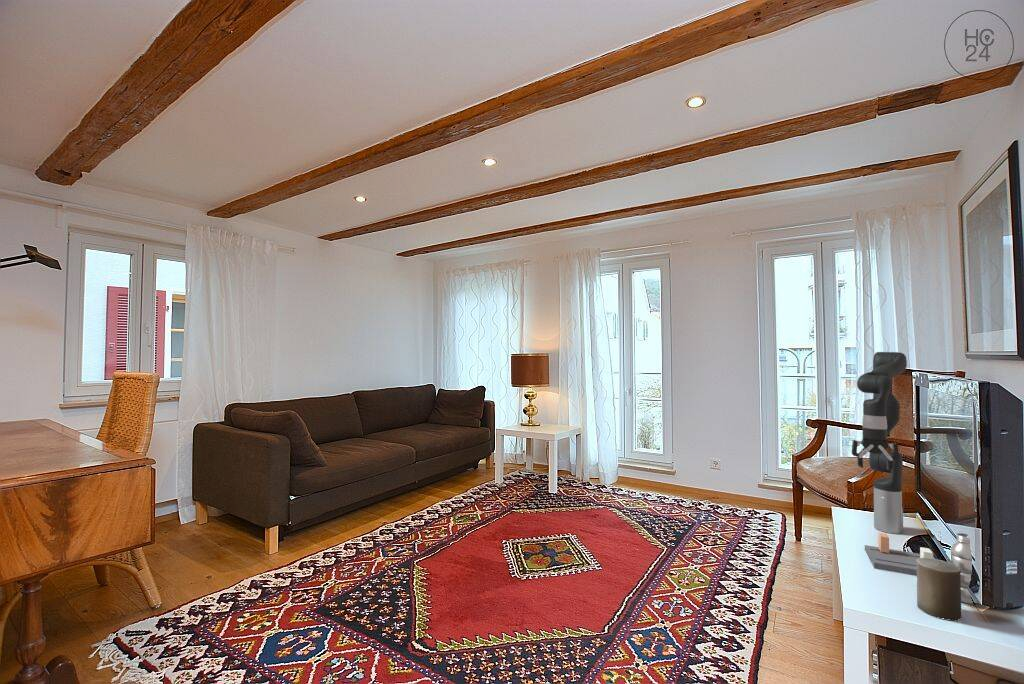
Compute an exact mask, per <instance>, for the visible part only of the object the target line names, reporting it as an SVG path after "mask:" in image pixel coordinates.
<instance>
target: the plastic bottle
mask: <svg viewBox="0 0 1024 684" xmlns="http://www.w3.org/2000/svg"><path fill="white" fill-rule="evenodd" d="M968 535H969V534H967V533H963V532H959V533H956V539H955V540H956V542H955V543H954V544H953V545H951V546H950V556H951V562H952V564H953V565H956V566H957V567H959V568H960V570H961V603H966V604H969V605H970V604H971V605H974V604H973V601H972V599H971V597H970V594H969V591H968V588H969V585H970V581H971V575H972V556H971V549H970V538H967V537H968Z"/></svg>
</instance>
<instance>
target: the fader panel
mask: <svg viewBox="0 0 1024 684" xmlns="http://www.w3.org/2000/svg"><path fill="white" fill-rule="evenodd" d="M865 551H866V552H865ZM864 552H865V553H867V554H866V556H867V555H868V556H867V558H868V559H869V561H870V562H871V565H872V567H873V569H877V570H882V571H887V572H894V573H899V574H905V575H910V576H916V577H917V561H916V559H919V558H920V553H917V552H911V551H904V550H898V549H891V548H889V553H885V552H881V551H880V549H879V548H878V546H873V545H867V544H865V545H864ZM933 559H936V558H935V556H934V555H933Z"/></svg>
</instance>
